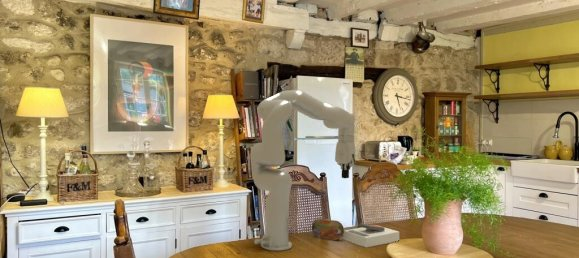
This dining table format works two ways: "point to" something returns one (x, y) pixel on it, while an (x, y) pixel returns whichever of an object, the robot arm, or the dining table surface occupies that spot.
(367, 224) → the rocker
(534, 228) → the dining table surface
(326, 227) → the tin
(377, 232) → the switch panel
